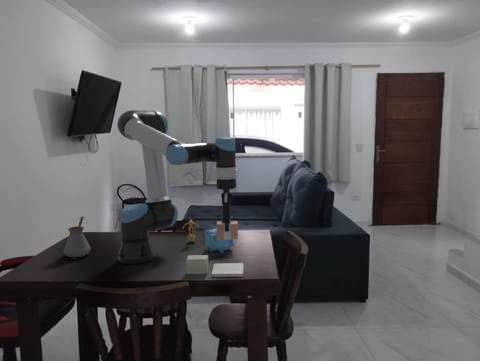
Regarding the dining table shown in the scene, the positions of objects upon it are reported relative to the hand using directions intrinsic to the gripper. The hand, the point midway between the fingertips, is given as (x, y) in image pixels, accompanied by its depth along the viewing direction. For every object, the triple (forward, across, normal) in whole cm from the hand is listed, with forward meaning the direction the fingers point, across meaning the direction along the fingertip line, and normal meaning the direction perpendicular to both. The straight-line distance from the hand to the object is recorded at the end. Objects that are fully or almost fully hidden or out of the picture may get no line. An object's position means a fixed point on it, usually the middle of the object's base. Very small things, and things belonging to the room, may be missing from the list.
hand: (227, 237), depth 161 cm
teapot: (+14, +29, +5) cm, 33 cm away
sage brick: (+14, 0, +12) cm, 19 cm away
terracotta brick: (0, 0, 0) cm, 0 cm away
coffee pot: (+14, +27, +70) cm, 76 cm away
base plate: (+14, 0, 0) cm, 14 cm away
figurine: (+14, +41, +20) cm, 48 cm away
